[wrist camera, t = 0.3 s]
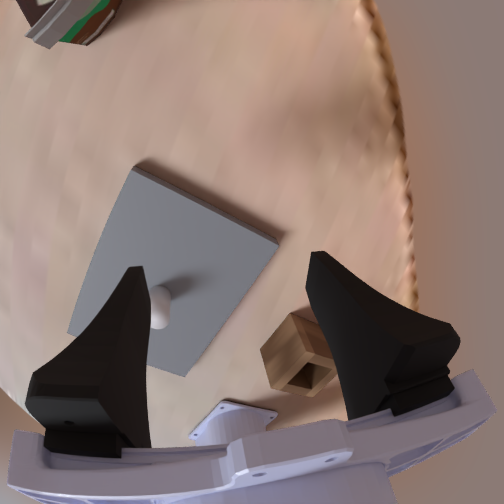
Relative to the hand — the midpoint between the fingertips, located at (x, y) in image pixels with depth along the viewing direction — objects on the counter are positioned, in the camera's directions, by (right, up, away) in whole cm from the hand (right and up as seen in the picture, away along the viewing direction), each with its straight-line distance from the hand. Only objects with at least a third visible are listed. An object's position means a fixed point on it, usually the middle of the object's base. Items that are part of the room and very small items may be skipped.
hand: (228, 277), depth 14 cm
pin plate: (-6, -2, +12) cm, 14 cm away
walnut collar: (+5, -7, +17) cm, 19 cm away
